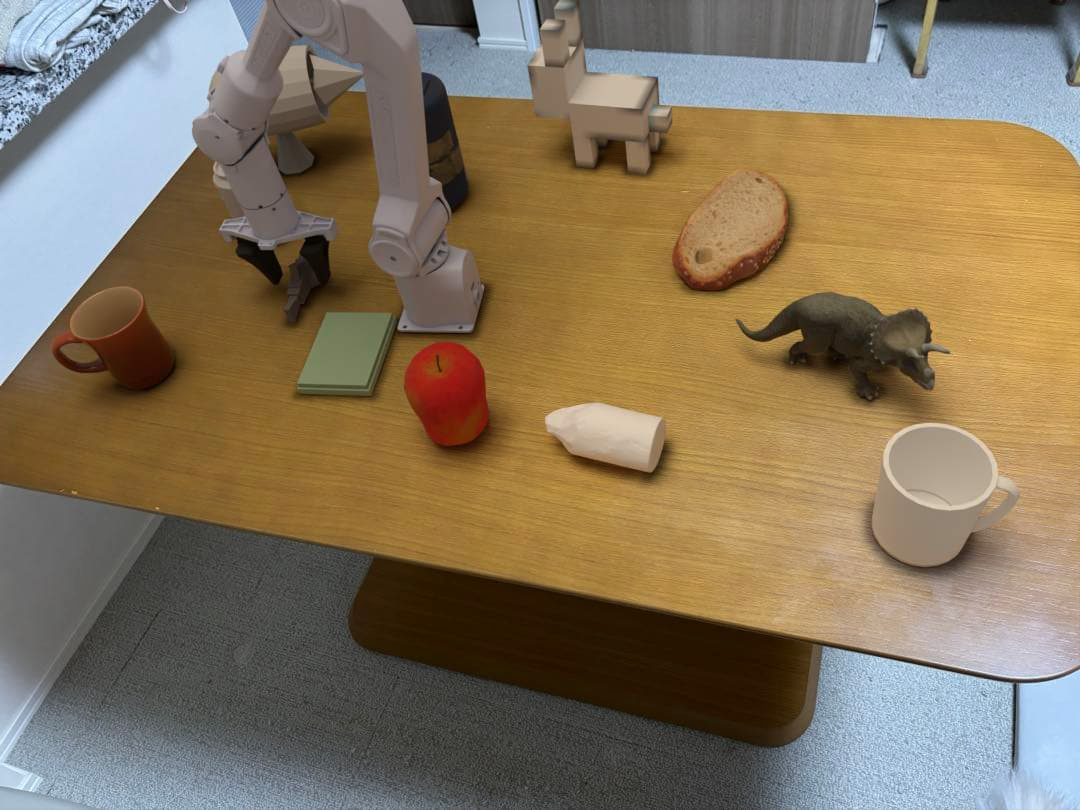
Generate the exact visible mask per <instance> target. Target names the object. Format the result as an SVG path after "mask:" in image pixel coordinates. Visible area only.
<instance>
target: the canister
mask: <svg viewBox="0 0 1080 810" xmlns="http://www.w3.org/2000/svg"><path fill="white" fill-rule="evenodd" d="M421 75H422V88H423V101H424V114H425V127H426V139H427V152H428V165H429V176H430V177H432V178H434V179H436V180H437V181H439V182H441V183H442V192H443V195H444V198H445V199H446V201H447V203H448V204H449V207H450V209H451V210H452V209H454V208H455V207H456V206H458V205H459V204H461V202H463V200H464V199H465V198H466V196H467V194H468V191H469V178H468V175H467V171H466V166H465V162H464V157H463V153H462V149H461V145H460V142H459V138H458V134H457V130H456V125H455V121H454V118H453V114H452V109H451V105H450V104H451V103H450V100H449V96H448V92H447V88H446V86H445V83H444V82H443V81H442V79H441V78H440V77H439V76H437V75H435V74H432V73H430V72H425V71H421Z"/></svg>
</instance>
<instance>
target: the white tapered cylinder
mask: <svg viewBox="0 0 1080 810" xmlns="http://www.w3.org/2000/svg"><path fill="white" fill-rule="evenodd" d="M666 423H667V422H666V419H665V417H663V416H662V417H661V416H656V415H652V414H648V413H644V412H639V411H635V410H631V409H628V408H623V407H619V406H614V405H611V404H607V403H603V402H598V401H597V402H589V403H583V404H582V403H581V404H577V405H572V406H569V407H561V408H559V409H556V410H553V411H552V412H550V413H548V414H547V415H546V416H545V417H544V424H545V428H546V431H547V433H548V434H550V435H552V436H553V437H555V438H557V440H558V441H560V442H561V443H562V445H563V447H564V448H565V449H566V451H568V453H570V454H571V455H574V456H579V457H583V458H586V459H590V460H595V461H599V462H602V463H603V462H604V463H607V464H612V465H615V466H620V467H623V468H629V469H633V470H637V471H642V472H646V473H652V472H653V471H654V470H655V469H656V467H657V465H658V463H659V461H660V458H661V455H662V451H663V449H664V443H665V439H666V433H667V432H666V431H667V430H666V429H667V427H666Z"/></svg>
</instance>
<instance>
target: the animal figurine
mask: <svg viewBox="0 0 1080 810" xmlns="http://www.w3.org/2000/svg"><path fill="white" fill-rule="evenodd" d="M298 253H299V252H298ZM288 270H289V273H290V276H289V279H288V282H287V286H286V288H287V292H286V295H287V296H288V302H287V303H286V305H285V306H284V308H283V309H282V310H283V312H284V314H285V316H286V318H287V320H288V321H289V323H296V321H297V318H298V314H299V312H300V306H301V304H305V301H306V299H307V298H308V297H309V294H310V291H311V289H313V288H315V287H317V286H319V285H320V286H321V284H320V283H319V281H318V279H317V277H316V275H315V273H314V271H313V269H312V267H311V266H310V264H309V263H308V262H307V261H306V260H305V258H303V257H302V256H301V255H300V253H299V254H298V257H297V258H295V260H294V262H293V263H291V264H289V265H288Z"/></svg>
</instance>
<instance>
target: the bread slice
mask: <svg viewBox="0 0 1080 810" xmlns="http://www.w3.org/2000/svg"><path fill="white" fill-rule="evenodd" d="M785 194H786V193H785V192H784V191H783V188H782V187H781V185H780V183H779V182H778V181H776V179H774V178H773V177H772V176H771V175H769V174H766V173H765V172H763V171H761V170H757V169H754V168H750V167H741V168H735V169H734V171H732V172H730V173H729V174H728V175H727V176H724V177H723V178H722V180H720V182H719V183H718V184H716V185H715V187H713V189H712V190H711V191H709V193H708V194H707V196H705V197H704V198H703V200H702V201H701V202H700V203H699V204H698V206H697V207H696V208H695V209H694V211H693V212H692V213H691V214H690V216H689V217H688V219H687V220H686V222H685V224H684V225H683V228H682V229H681V231H680V233H679V236H678V238H677V239H676V242H675V245H674V247H673V251H672V258H671V260H672V264H673V266H674V268H675V270H676V273H678V275H679V276H680V278H682V279H683V280H684V281H685V283H686V284H687V285H688V286H689V287H690V288H691V289H693V290H704V291H720V290H723V289H725V288H726V287H727V286H729V285H731V284H733V283H734V282H736V281H737V282H738V281H739V280H741V279H745V278H748V277H750V276H752V275H754V274H755V273H758V271H760V270H762V269H763V268H764V267H765V266H766V265H767V264H768V263H769V262H770V260H771V259H772V258H773V257H774V256H775V254H776V253H777V251H778V250H779V248H780V247H781V246H782V244H783V243H784V238H785V235H786V232H787V228H788V223H789V211H788V209H789V208H788V201H787V198H786V195H785Z"/></svg>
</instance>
